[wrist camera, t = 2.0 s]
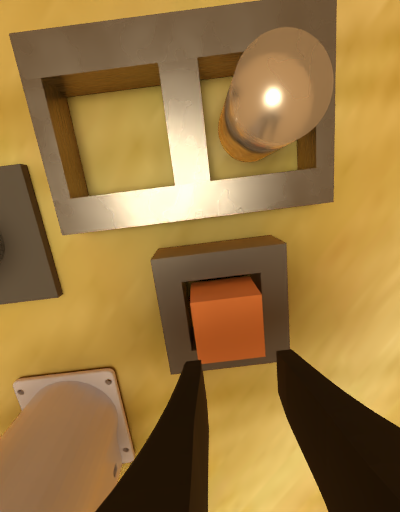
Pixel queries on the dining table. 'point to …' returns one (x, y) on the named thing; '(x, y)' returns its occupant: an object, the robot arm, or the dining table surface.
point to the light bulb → (275, 94)
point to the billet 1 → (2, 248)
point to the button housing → (215, 266)
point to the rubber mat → (23, 242)
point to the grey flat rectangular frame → (168, 108)
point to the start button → (227, 320)
